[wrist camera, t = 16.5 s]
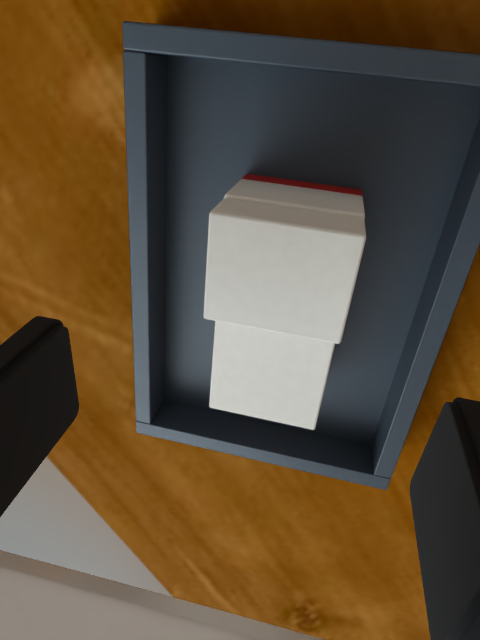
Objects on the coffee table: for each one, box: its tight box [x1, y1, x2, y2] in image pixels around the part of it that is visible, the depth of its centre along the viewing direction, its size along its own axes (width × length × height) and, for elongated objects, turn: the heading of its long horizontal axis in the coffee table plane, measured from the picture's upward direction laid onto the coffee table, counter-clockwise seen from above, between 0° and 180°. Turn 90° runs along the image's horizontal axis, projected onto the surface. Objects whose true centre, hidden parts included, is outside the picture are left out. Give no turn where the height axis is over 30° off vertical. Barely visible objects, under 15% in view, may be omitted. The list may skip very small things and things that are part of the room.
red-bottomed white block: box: [204, 174, 366, 430], centre depth 17 cm, size 9×4×5 cm, turn 175°
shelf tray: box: [122, 21, 480, 490], centre depth 18 cm, size 18×13×3 cm
